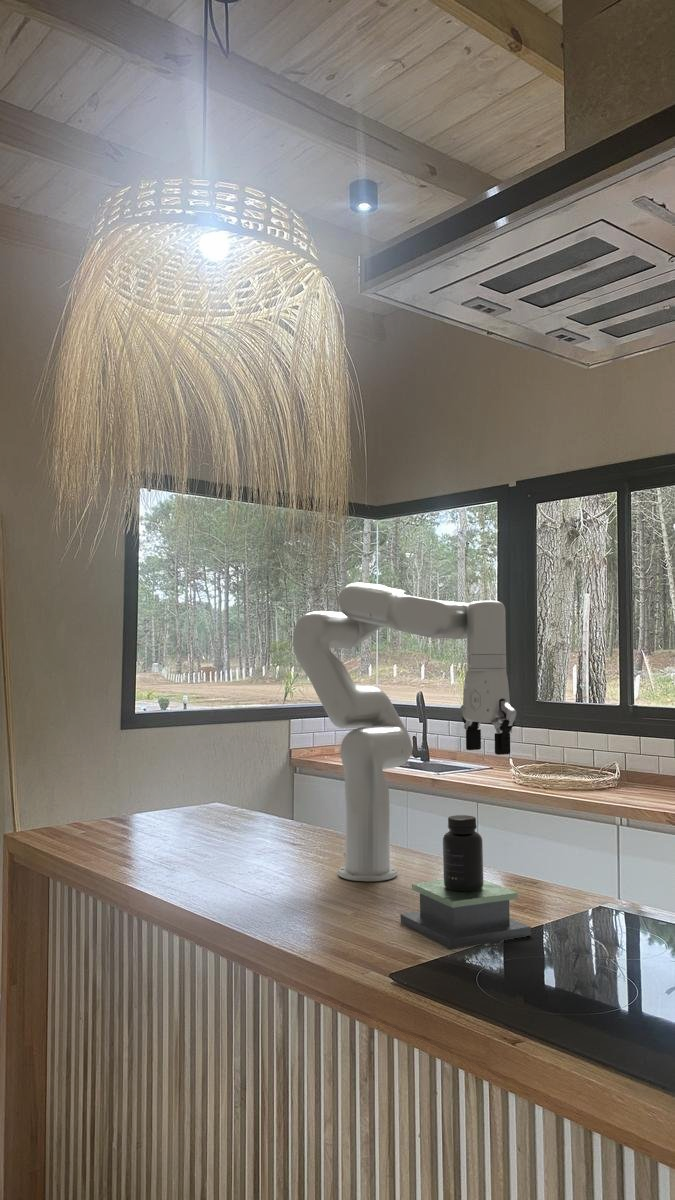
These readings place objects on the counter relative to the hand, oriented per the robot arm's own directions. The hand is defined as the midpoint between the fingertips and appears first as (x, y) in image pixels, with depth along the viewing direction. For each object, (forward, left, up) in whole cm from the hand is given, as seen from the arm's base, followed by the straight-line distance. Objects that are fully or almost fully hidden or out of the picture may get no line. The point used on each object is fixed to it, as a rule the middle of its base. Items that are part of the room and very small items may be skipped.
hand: (487, 751), depth 176 cm
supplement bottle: (+14, -15, -22) cm, 30 cm away
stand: (+14, -15, -28) cm, 35 cm away
